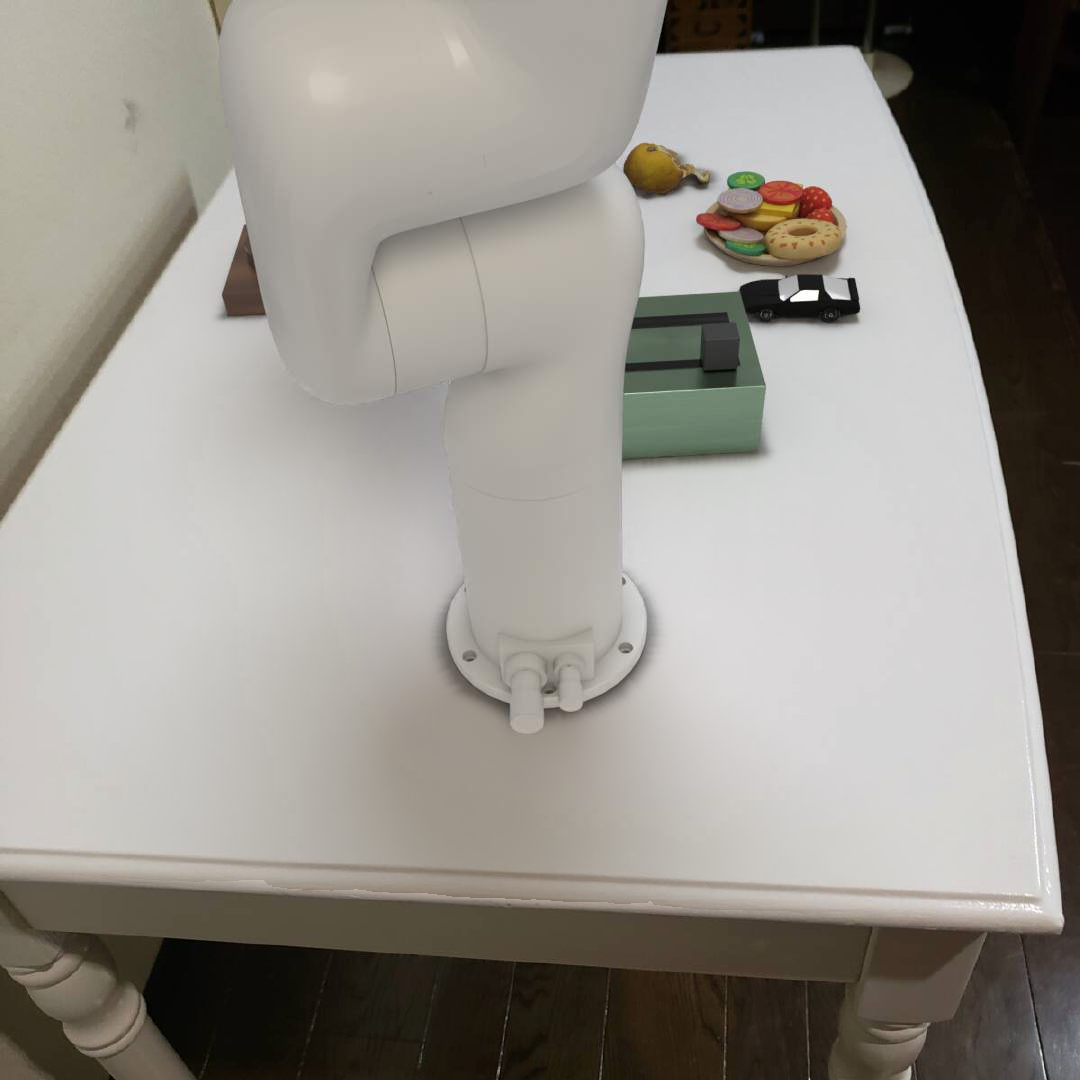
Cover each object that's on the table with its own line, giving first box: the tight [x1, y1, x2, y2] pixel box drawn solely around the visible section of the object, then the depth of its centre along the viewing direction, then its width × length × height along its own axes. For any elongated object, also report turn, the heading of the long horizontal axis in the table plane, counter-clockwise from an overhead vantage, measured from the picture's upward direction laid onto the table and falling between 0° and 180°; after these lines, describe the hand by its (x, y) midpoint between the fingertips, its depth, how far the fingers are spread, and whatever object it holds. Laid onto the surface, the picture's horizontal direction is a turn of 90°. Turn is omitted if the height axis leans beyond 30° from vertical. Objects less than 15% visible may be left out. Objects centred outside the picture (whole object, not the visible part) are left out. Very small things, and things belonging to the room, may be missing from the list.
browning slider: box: [700, 322, 740, 371], centre depth 79 cm, size 2×2×3 cm
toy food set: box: [695, 170, 848, 267], centre depth 102 cm, size 13×13×3 cm
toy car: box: [738, 273, 861, 323], centre depth 93 cm, size 10×4×3 cm, turn 85°
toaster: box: [622, 290, 767, 460], centre depth 84 cm, size 12×12×6 cm
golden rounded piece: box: [622, 142, 711, 195], centre depth 110 cm, size 8×8×4 cm
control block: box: [221, 223, 266, 317], centre depth 101 cm, size 12×10×4 cm
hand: (340, 59), depth 79 cm, fingers closed
